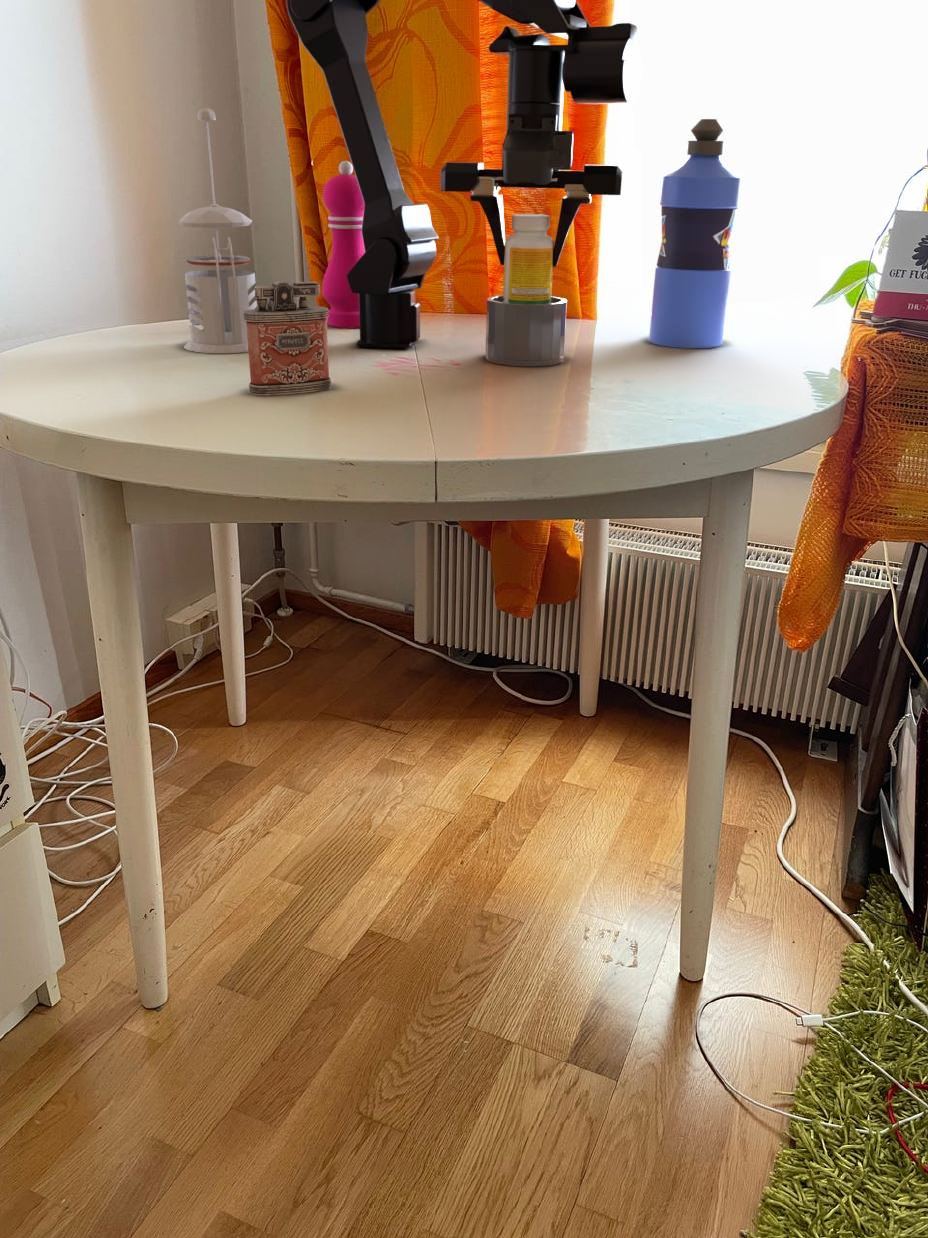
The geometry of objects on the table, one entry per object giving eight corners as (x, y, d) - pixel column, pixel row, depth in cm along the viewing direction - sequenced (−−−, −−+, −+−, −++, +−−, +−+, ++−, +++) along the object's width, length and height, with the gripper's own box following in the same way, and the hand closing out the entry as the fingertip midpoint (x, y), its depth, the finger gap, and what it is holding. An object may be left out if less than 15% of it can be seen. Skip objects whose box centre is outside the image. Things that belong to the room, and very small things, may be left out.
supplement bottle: (494, 306, 111) (496, 213, 107) (535, 304, 113) (539, 213, 109) (517, 312, 106) (520, 216, 102) (560, 310, 109) (565, 216, 104)
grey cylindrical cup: (481, 364, 109) (482, 303, 106) (490, 350, 116) (491, 293, 114) (561, 367, 108) (565, 305, 105) (565, 353, 115) (568, 295, 113)
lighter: (255, 397, 92) (247, 284, 88) (245, 389, 95) (236, 280, 91) (336, 389, 96) (332, 281, 92) (324, 382, 99) (319, 277, 94)
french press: (262, 337, 122) (246, 110, 112) (276, 353, 112) (260, 106, 102) (180, 340, 120) (156, 108, 109) (187, 357, 110) (161, 103, 99)
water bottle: (640, 344, 122) (660, 117, 111) (656, 333, 130) (676, 120, 119) (716, 350, 119) (744, 117, 108) (728, 339, 127) (755, 120, 116)
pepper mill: (368, 329, 129) (364, 160, 120) (316, 327, 130) (308, 159, 122) (384, 321, 135) (381, 161, 127) (333, 319, 137) (327, 160, 128)
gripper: (432, 99, 95) (431, 270, 102) (628, 101, 93) (614, 276, 99) (449, 104, 105) (447, 260, 112) (626, 106, 103) (614, 265, 109)
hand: (528, 265), depth 108 cm, fingers closed on supplement bottle, 5 cm apart
